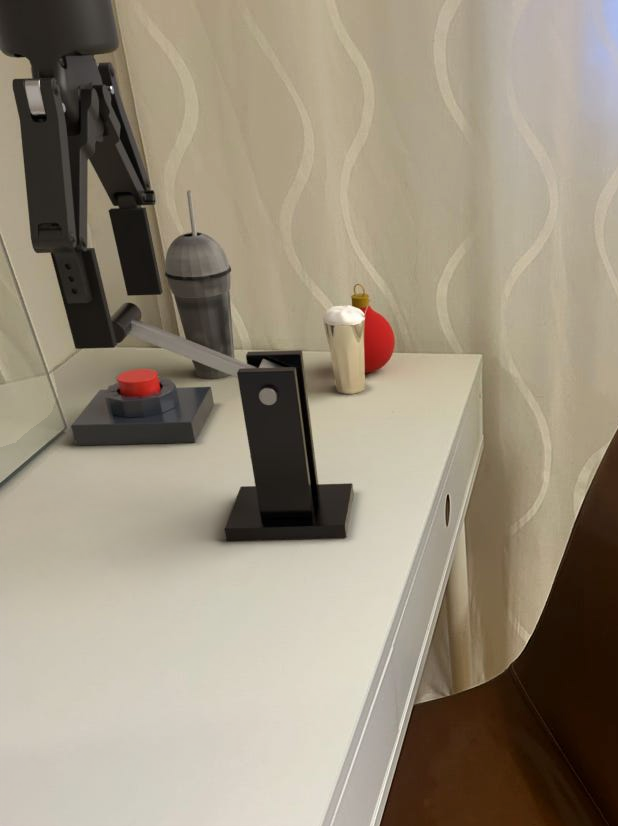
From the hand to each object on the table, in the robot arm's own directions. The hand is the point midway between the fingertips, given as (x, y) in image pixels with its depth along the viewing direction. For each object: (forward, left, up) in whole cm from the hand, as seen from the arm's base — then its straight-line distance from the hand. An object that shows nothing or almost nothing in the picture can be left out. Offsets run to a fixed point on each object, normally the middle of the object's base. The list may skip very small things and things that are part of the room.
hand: (122, 318), depth 74 cm
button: (-7, +22, -14) cm, 27 cm away
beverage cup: (-3, +38, -18) cm, 42 cm away
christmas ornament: (+15, +37, -18) cm, 44 cm away
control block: (-7, +22, -17) cm, 29 cm away
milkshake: (+14, +31, -18) cm, 38 cm away
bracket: (+11, 0, -17) cm, 20 cm away
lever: (+5, 0, -4) cm, 6 cm away
